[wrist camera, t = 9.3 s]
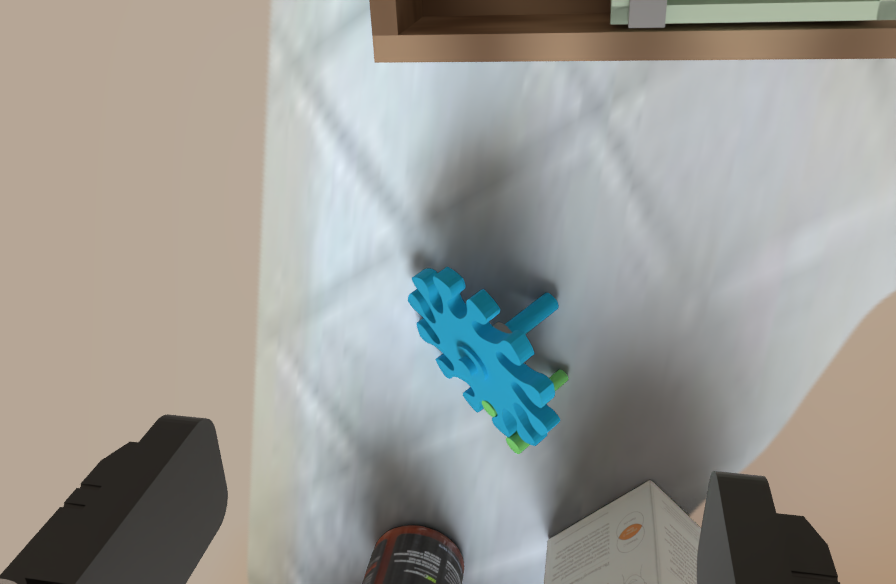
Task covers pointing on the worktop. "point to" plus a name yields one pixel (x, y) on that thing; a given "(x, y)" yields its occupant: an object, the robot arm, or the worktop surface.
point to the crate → (745, 11)
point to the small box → (627, 544)
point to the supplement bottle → (414, 558)
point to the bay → (601, 34)
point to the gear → (489, 354)
